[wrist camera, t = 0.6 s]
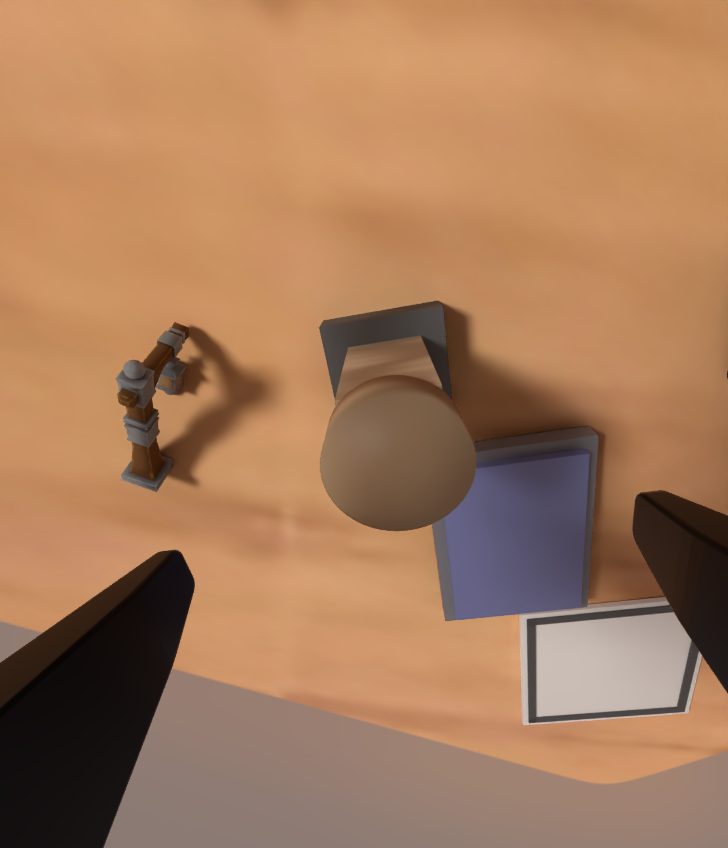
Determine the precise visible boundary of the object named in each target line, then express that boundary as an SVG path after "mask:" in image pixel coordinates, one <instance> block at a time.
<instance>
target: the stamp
mask: <svg viewBox="0 0 728 848" xmlns="http://www.w3.org/2000/svg"><path fill="white" fill-rule="evenodd" d="M319 329H320V333H321V338H322V343H323V347H324V352H325V356H326V361H327V365H328V370H329V374H330V379H331V384H332V388H333V393H334V397H335V405H336V407H335V409H334V411H333V413H332V415H331V417H330V420H329V424H328V428H327V432H326V436H325V439H324V443H323V447H322V451H321V457H320V472H321V478H322V481H323V484H324V487H325V489H326V491H327V493H328V495H329V497H330V498H331V500H332V501H333V502H334V504H335V505H336V506H337V507H338V508H339V509H340V510H341V511H342V512H344V513H345V514H346V515H347V516H349V517H350V518H352V519H353V520H355V521H357V522H359V523H361V524H364V525H366V526H369V527H372V528H376V529H380V530H387V531H406V530H413V529H418V528H421V527H425V526H428V525H430V524H433V523H435V522H437V521H439V520H441V519H442V518H444V517H445V516H447V515H448V514H450V513H451V512H452V511H453V510H454V509H456V508H457V507H458V506H459V504H460V503H461V502H462V501H463V500H464V498H465V497H466V495H467V494H468V492H469V490H470V488H471V486H472V484H473V480H474V477H475V472H476V452H475V447H474V444H473V441H472V439H471V436H470V434H469V432H468V430H467V428H466V426H465V423H464V421H463V419H462V417H461V415H460V413H459V411H458V409H457V407H456V405H455V404H454V402H453V401H452V397H451V386H450V376H449V365H448V354H447V344H446V333H445V323H444V312H443V306H442V305H441V303H440V302H439V301H433V302H427V303H421V304H416V305H410V306H404V307H399V308H393V309H387V310H381V311H376V312H370V313H364V314H358V315H353V316H347V317H341V318H336V319H330V320H324V321H323V322H322V324H321V326H320V327H319Z"/></svg>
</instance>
